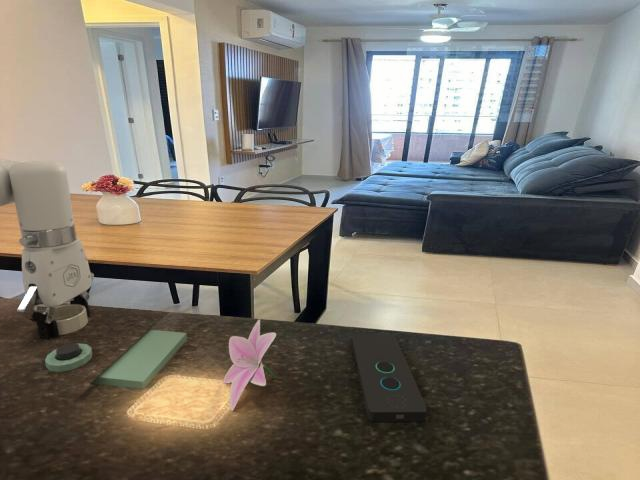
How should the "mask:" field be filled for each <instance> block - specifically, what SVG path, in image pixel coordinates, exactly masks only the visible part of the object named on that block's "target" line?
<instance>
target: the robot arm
mask: <svg viewBox="0 0 640 480" xmlns="http://www.w3.org/2000/svg"><path fill="white" fill-rule="evenodd" d="M68 178H69V177H68V174H67V170H66V167H65V166H64V165H63V164H62V163H60V162H56V161H50V160H49V161H48V160H38V161H37V160H36V161H33V160H32V161H31V160H30V161H19V160H17V161H16V160H11V159H3V158H0V207H3V206H7V205H10V204H14V206H15V210H16V215H17V220H18V225H19V226H18V227H19V231H20V235H21V237H20V238H19V240H18V242H19V245H21V246H23V248H22V250H21V275H22V282H23V289H24V297H23V299H22V300H21V302H20V304H19V305H18V306H17V308H16V313H17V314H18V315H20V316H22V317H25V319H26V320H29V321H31V322H32V323H36V327H37V331H38V336H39V338H40V339H41V340H48V341H49V340H50V339H52V338H53V339H57V338H59V337H60V335H59V333H58V328H57V322H56V321H54V320H53V315H54V310H55V307H58V306H62V305H65V304H66V303H67V302H69V303H70V304H79V305H83V306H85V308H86V312H87V318H89V317H90V316H91V314H90V308H89V307H90V306H89V300H90V294H89V293H90V291H91V289H92V284H93V280H94V278H95V274H94V273H93V272H92V271H91V269H90V265H89V261H88V257H87V254H86V250H85V248H84V244H83V242H82V240H81V239H80V237H78V236H77V229H76V223H75V217H74V210H73V204H72V198H71V191H70V185H69V180H68ZM44 308H45V312H46V313H45V314H43V309H44Z"/></svg>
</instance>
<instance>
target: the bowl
mask: <svg viewBox="0 0 640 480" xmlns="http://www.w3.org/2000/svg"><path fill="white" fill-rule="evenodd" d="M45 313H46V311H44V312H42V314H45ZM53 320H54V321H56V322H57V328H58V333H59V336H63V335H68V334H71V333H74V332H77V331H80V330H82V329H83V328H84V327H85V326H87V324H88V322H89V320H88V317H87V312H86V308H85V306H83V305H79V304H62V305H60V306H58V307H55V310H54V315H53Z"/></svg>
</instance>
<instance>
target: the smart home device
mask: <svg viewBox="0 0 640 480" xmlns="http://www.w3.org/2000/svg"><path fill="white" fill-rule="evenodd" d="M350 343H351V344H350V345H351V349H352V354H353V358H354V363H355V364H354V365H355V367H356V373H357V378H358V382H359V387H360V391H361V394H362V400H363V403H364V408H365V414H366V417H367V419H368V420H369V422H371V423H373V422H374V423H383V422H384V423H385V422H386V423H387V422H388V423H390V422H392V423H394V422H395V423H397V422H401V423H402V422H408V423H409V422H425V421H426V417H427V412H428V411H427V410H428V408H427V405H426V403H425V400H424V398H423V396H422V393H421V391H420V389H419V387H418V385H417V382H416V380H415V378H414V376H413V373H412V371H411V369H410V367H409V364H408V362H407V360H406V357H405V356H404V353H403V351H402V349H401V346H400V344H399V342H398V340H397V337H396V335H394V334H392V333H352V334H351V342H350Z"/></svg>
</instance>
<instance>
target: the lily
mask: <svg viewBox="0 0 640 480" xmlns="http://www.w3.org/2000/svg"><path fill="white" fill-rule="evenodd" d="M276 337H277V333H276V332H274V331H273V332H267V333H263V334H261V319H260V318H259V319H258V320H257V321H256V322H255V324H254V325H253V327H252V330H251V331H250V333H249V336H248V338H247V337H243V336H237V335H232V336H231V337H229V339H228V351H229V353H228V354H229V356H230V361H231V362H232V363H233V364H232V365H231V366H230V367H229V369H228V370H227V372H226V374H225V376H224V378H223V380H222V382H223V384H230V383H231V385H230V391H229V409H230V412H233V411H234V409H235V408H236V406H237V404H238V402H239V400H240V397H241V395H242V393H243V391H244V390H245V388H246V386H247V385H248V383H249V382H250V383H251V384H253V385H256V386H260V387H265V386H266V385H267V379H266V376H265V370H266V371H267V372H268V374H270V376H271V377H272V378H273V379H274V380H276V379H277V377H276V376H275V374H274V373H273V372H272V371H271V370H270V369H269V368H268V367H267V366H266V365H264V364H263V361H262V359H263V357H264V355H265V354H266V352H267V350H268V349H269V348H270V346H271V345H272V343H273V341H274V340H275V338H276Z"/></svg>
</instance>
